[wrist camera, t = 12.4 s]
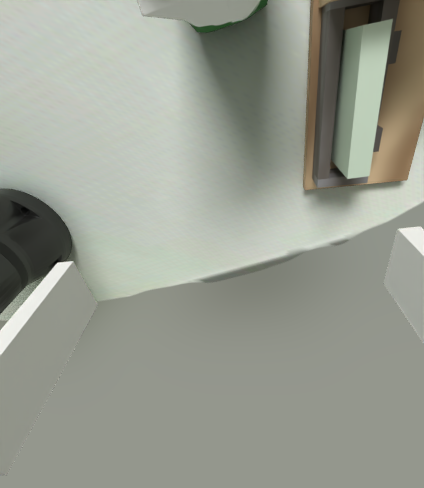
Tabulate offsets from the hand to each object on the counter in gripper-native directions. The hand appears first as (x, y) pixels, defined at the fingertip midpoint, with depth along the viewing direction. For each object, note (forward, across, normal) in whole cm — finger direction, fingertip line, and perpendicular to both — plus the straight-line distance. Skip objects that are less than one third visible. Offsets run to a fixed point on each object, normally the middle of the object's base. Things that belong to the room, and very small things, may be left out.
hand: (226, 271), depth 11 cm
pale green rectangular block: (+24, +12, +2) cm, 27 cm away
